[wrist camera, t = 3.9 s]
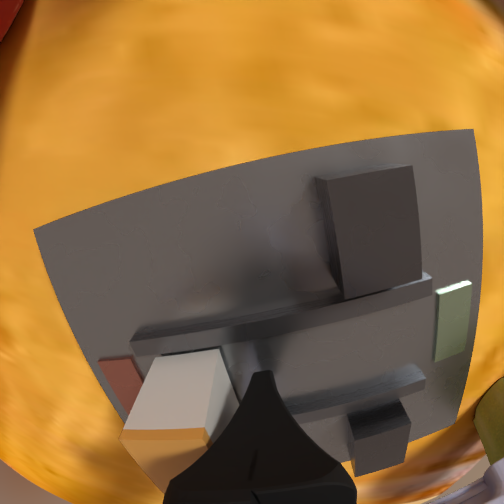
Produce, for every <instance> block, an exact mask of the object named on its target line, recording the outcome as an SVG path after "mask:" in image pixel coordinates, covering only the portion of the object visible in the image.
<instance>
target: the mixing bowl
mask: <svg viewBox="0 0 504 504" xmlns="http://www.w3.org/2000/svg"><path fill="white" fill-rule="evenodd" d="M23 2H24V0H0V43H1V41H2V40H3V38H4V36H5V35H6V33H7V31H8V30H9V28H10V26H11V24H12V23H13V21H14V19H15V17H16V15H17V13H18V11H19V9H20V7H21V6H22V4H23Z"/></svg>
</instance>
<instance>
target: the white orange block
mask: <svg viewBox="0 0 504 504" xmlns="http://www.w3.org/2000/svg"><path fill="white" fill-rule="evenodd" d="M238 407H239V403H238V400H237V398H236V395H235V392H234V390H233V387H232V384H231V382H230V379H229V376H228V373H227V371H226V368H225V365H224V362H223V359H222V357H221V354H220V351H219V349H214V350H208V351H201V352H194V353H187V354H179V355H172V356H164V357H155V359H154V361H153V363H152V365H151V368H150V370H149V372H148V374H147V376H146V378H145V381H144V383H143V385H142V387H141V389H140V392H139V394H138V396H137V398H136V401H135V403H134V405H133V407H132V410H131V412H130V414H129V416H128V419H127V421H126V423H125V426H124V428H123V430H122V432H121V435H120V437H119V441H120V442H121V443H122V445H123V446H124V447H125V449H126V450H127V451H128V452H129V454H130V455H131V456H132V457H133V459H134V460H135V461H136V462H137V464H138V465H139V466H140V467H141V469H142V470H143V471H144V472H145V473H146V474H147V476H148V477H149V478H150V479H151V480H152V481H153V482H154V484H155V485H156V486H157V487H158V488H159V489H160V490H161V491H162V492H163V493H164V495H165V492H166V489H167V487H168V485H169V482H170V480H171V479H173V478H174V477H176V476H177V475H179V474H180V473H181V472H183V471H184V470H186V469H187V468H188V467H190V466H191V465H192V464H193V463H194V462H195V461H196V460H197V459H199V458H200V457H201V456H202V455H203V454H204V453H205V452H206V451H207V450H208V449H209V448H210V447H211V446H212V444H213V443H214V442H215V441H216V440H217V439H218V437H219V436H220V435H221V433H222V432H223V431H224V429H225V428H226V427H227V425H228V424H229V422H230V421H231V419H232V417H233V415H234V414H235V412H236V410H237V409H238Z"/></svg>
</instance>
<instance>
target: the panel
mask: <svg viewBox="0 0 504 504" xmlns="http://www.w3.org/2000/svg"><path fill="white" fill-rule="evenodd" d="M33 230H34V234H35V237H36V240H37V243H38V246H39V250H40V252H41V255H42V258H43V261H44V264H45V267H46V270H47V272H48V275H49V278H50V280H51V283H52V285H53V288H54V290H55V293H56V295H57V298H58V300H59V303H60V305H61V307H62V310H63V312H64V314H65V316H66V319H67V321H68V323H69V325H70V327H71V329H72V332H73V334H74V336H75V338H76V340H77V342H78V344H79V346H80V348H81V350H82V352H83V354H84V356H85V358H86V360H87V361H88V363H89V365H90V367H91V369H92V371H93V372H94V374H95V376H96V378H97V380H98V381H99V383H100V385H101V386H102V388H103V390H104V392H105V393H106V395H107V396H108V398H109V400H110V401H111V403H112V405H113V406H114V408H115V409H116V411H117V412H118V414H119V416H120V417H121V419H122V420H123V422H124V423H126V421H127V419H128V416H129V414H130V412H131V410H132V407H133V405H134V403H135V401H136V398H137V396H138V394H139V392H140V389H141V387H142V385H143V383H144V381H145V378H146V376H147V374H148V372H149V370H150V368H151V365H152V363H153V361H154V359H155V357H164V356H172V355H179V354H187V353H194V352H201V351H208V350H214V349H219V351H220V354H221V357H222V359H223V362H224V365H225V368H226V371H227V373H228V376H229V379H230V382H231V384H232V387H233V390H234V392H235V395H236V398H237V400H238V403H239V405H240V403H241V401H242V399H243V397H244V395H245V392H246V390H247V388H248V385H249V383H250V380H251V377H252V374H253V373H254V372H259V371H265V370H271V371H273V374H274V378H275V382H276V386H277V390H278V392H279V394H280V396H281V398H282V400H283V402H284V404H285V405H286V407H287V409H288V410H289V412H290V413H291V415H292V416H293V418H294V419H295V420H296V422H297V423H298V424H299V425H300V427H301V428H302V429H303V430H304V431H305V433H306V434H307V435H308V436H309V437H310V438H311V439H312V440H313V441H314V442H315V443H316V444H317V445H318V446H319V447H321V448H322V449H323V450H324V451H325V452H326V453H328V454H329V455H330V456H332V457H333V458H334V459H336V460H337V461H338V462H340V463H341V462H345V461H349V460H351V464H352V468H353V472H354V476H355V477H358V476H361V475H365V474H369V473H372V472H376V471H379V470H382V469H385V468H388V467H391V466H394V465H397V464H400V463H403V462H404V459H405V454H406V450H407V445H408V442H411V441H414V440H416V439H419V438H422V437H424V436H427V435H429V434H432V433H434V432H436V431H439V430H441V429H444V428H446V427H448V426H450V425H453V424H455V421H456V418H457V414H458V411H459V408H460V404H461V400H462V397H463V393H464V389H465V385H466V380H467V376H468V372H469V367H470V362H471V357H472V352H473V346H474V340H475V334H476V327H477V320H478V312H479V303H480V292H481V279H482V259H483V217H482V197H481V184H480V173H479V164H478V156H477V149H476V142H475V136H474V130H473V129H464V130H449V131H437V132H426V133H417V134H407V135H399V136H391V137H383V138H376V139H369V140H362V141H355V142H349V143H343V144H337V145H331V146H325V147H319V148H314V149H308V150H303V151H298V152H293V153H288V154H283V155H278V156H273V157H269V158H264V159H260V160H255V161H251V162H246V163H242V164H238V165H234V166H230V167H226V168H222V169H218V170H214V171H210V172H206V173H202V174H198V175H195V176H191V177H187V178H184V179H180V180H176V181H173V182H169V183H166V184H163V185H159V186H156V187H152V188H149V189H146V190H143V191H139V192H136V193H133V194H130V195H127V196H124V197H121V198H118V199H115V200H111V201H109V202H106V203H103V204H100V205H97V206H94V207H91V208H88V209H85V210H83V211H80V212H77V213H74V214H72V215H69V216H66V217H64V218H61V219H58V220H56V221H53V222H51V223H48V224H46V225H43V226H41V227H38V228H36V229H33Z"/></svg>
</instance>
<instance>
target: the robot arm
mask: <svg viewBox="0 0 504 504" xmlns="http://www.w3.org/2000/svg"><path fill="white" fill-rule="evenodd" d="M356 501H357V489H356V486H355V484H354V482H353V480H352V479H351V477H350V475H349V474H348V473H347V471H346V470H345V469H344V467H343V466H342V465H341V463H340V462H338V461H337V460H336V459H334V458H333V457H332V456H330V455H329V454H328V453H326V452H325V451H324V450H323V449H322V448H321V447H319V446H318V445H317V444H316V443H315V442H314V441H313V440H312V439H311V438H310V437H309V436H308V435H307V434H306V433H305V431H304V430H303V429H302V428H301V427H300V425H299V424H298V423H297V422H296V420H295V419H294V418H293V416H292V415H291V413H290V412H289V410H288V409H287V407H286V405H285V404H284V402H283V400H282V398H281V396H280V394H279V392H278V390H277V386H276V382H275V378H274V374H273V371H271V370H265V371H259V372H254V373H253V374H252V377H251V380H250V383H249V385H248V388H247V390H246V392H245V395H244V397H243V399H242V401H241V403H240V405H239V407H238V409H237V410H236V412H235V414H234V415H233V417H232V419H231V421H230V422H229V424H228V425H227V427H226V428H225V429H224V431H223V432H222V433H221V435H220V436H219V437H218V439H217V440H216V441H215V442H214V443H213V444H212V446H211V447H210V448H209V449H208V450H207V451H206V452H205V453H204V454H203V455H202V456H201V457H200V458H199V459H197V460H196V461H195V462H194V463H193V464H192V465H191V466H190V467H188V468H187V469H186V470H184V471H183V472H181V473H180V474H179V475H177V476H176V477H174V478H173V479H171V480H170V482H169V485H168V487H167V489H166V492H165V496H164V500H163V504H357V503H356ZM428 504H504V457H503V458H502V459H500V460H498V461H497V462H495V463H494V464H492V465H491V466H490V467H489V468H488V469H487V470H486V472H485V473H484V476H483V477H482V478H480V479H478V480H476V481H474V482H473V483H471V484H469V485H467V486H465V487H463V488H461V489H459V490H457V491H455V492H453V493H450V494H448V495H446V496H444V497H442V498H439V499H437V500H435V501H432V502H430V503H428Z"/></svg>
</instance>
